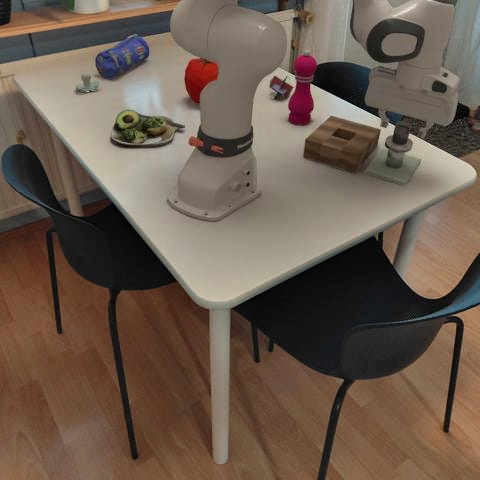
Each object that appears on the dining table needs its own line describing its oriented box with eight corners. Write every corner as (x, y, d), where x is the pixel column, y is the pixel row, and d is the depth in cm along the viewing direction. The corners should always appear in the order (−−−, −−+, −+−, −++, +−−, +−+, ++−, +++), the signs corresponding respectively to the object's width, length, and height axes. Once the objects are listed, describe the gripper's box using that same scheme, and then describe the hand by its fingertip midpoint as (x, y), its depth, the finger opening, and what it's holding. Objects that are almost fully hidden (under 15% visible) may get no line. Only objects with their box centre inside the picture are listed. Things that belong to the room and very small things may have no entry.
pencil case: (132, 56, 179) (129, 29, 173) (153, 60, 177) (150, 32, 171) (95, 78, 163) (90, 48, 157) (117, 83, 161) (113, 53, 155)
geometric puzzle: (300, 89, 155) (288, 66, 152) (293, 97, 150) (280, 74, 148) (282, 99, 160) (269, 77, 157) (274, 107, 155) (261, 84, 152)
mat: (404, 185, 119) (405, 182, 118) (364, 173, 122) (365, 170, 122) (420, 162, 127) (421, 159, 127) (382, 150, 131) (383, 148, 131)
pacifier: (72, 89, 156) (79, 96, 152) (68, 69, 153) (75, 75, 149) (95, 85, 160) (102, 91, 156) (92, 65, 156) (98, 71, 152)
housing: (354, 173, 122) (358, 155, 119) (303, 156, 128) (305, 139, 125) (377, 146, 133) (381, 129, 130) (328, 132, 138) (331, 115, 135)
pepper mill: (310, 127, 140) (319, 55, 128) (285, 124, 141) (291, 53, 129) (313, 116, 146) (322, 46, 133) (288, 113, 147) (295, 43, 134)
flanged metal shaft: (402, 173, 121) (413, 133, 114) (376, 166, 124) (386, 126, 117) (409, 162, 125) (421, 122, 118) (385, 155, 128) (394, 116, 121)
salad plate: (187, 118, 143) (186, 103, 140) (183, 150, 129) (182, 134, 126) (119, 118, 142) (116, 102, 140) (107, 149, 129) (104, 133, 126)
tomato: (195, 90, 158) (193, 47, 149) (232, 97, 155) (233, 53, 146) (178, 106, 148) (175, 61, 140) (217, 114, 145) (217, 68, 137)
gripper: (366, 68, 112) (355, 124, 120) (460, 89, 104) (441, 148, 113) (376, 59, 116) (365, 115, 125) (467, 80, 108) (448, 137, 117)
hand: (402, 131), depth 119 cm, fingers open, 8 cm apart
